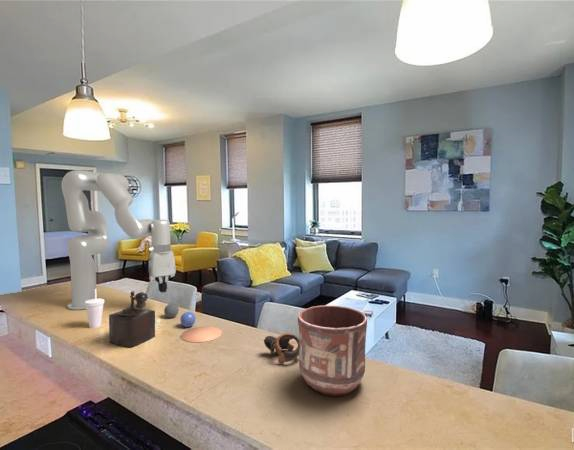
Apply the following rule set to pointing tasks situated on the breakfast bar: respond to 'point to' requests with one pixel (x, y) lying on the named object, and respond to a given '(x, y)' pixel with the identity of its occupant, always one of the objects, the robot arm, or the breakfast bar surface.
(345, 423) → the breakfast bar surface
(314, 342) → the pottery
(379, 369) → the breakfast bar surface
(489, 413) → the breakfast bar surface
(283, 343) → the brown curved piece
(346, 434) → the breakfast bar surface
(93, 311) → the smoothie
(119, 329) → the brown coffee grinder
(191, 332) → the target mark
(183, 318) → the object ball
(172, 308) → the gray ball
